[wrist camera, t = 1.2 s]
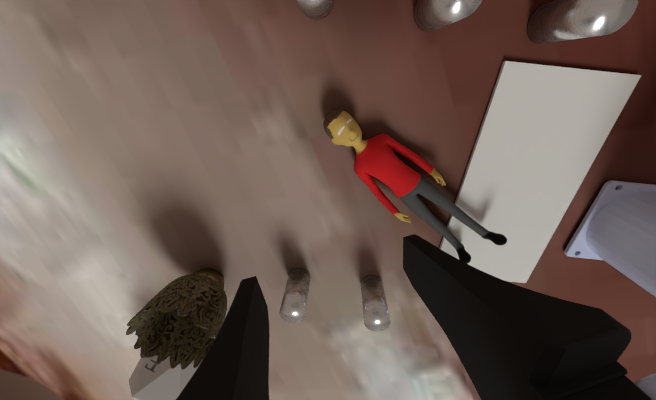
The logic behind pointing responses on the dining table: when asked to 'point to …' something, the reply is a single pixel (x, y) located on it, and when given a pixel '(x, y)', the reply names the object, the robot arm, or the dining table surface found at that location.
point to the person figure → (401, 178)
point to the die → (159, 379)
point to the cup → (182, 319)
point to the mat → (533, 160)
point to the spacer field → (431, 14)
